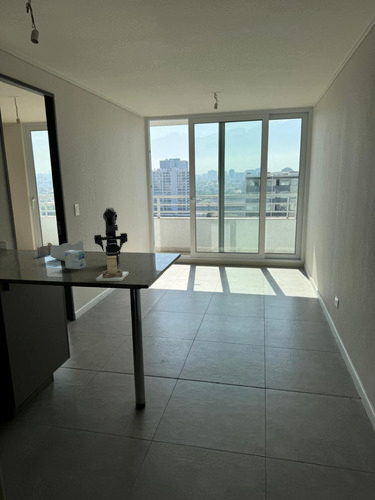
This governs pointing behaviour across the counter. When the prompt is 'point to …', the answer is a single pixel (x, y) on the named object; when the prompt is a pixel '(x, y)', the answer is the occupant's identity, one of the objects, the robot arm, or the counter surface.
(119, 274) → the socket frame
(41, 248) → the ruin model on sheet
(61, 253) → the grey angular block
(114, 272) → the maple pillar
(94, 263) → the counter surface
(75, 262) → the light bulb box
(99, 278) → the base board
